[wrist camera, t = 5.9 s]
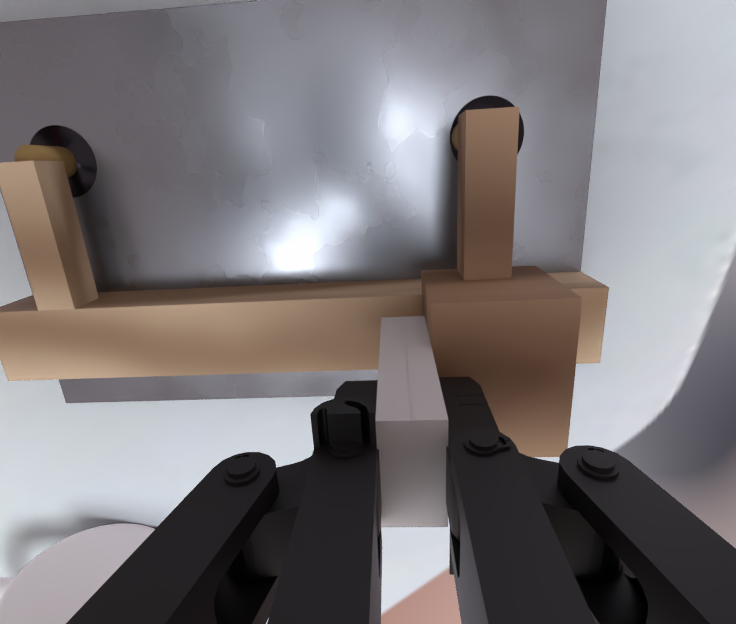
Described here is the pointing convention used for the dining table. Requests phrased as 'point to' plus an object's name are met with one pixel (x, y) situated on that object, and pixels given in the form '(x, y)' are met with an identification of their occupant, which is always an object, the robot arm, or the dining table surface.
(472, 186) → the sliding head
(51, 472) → the dining table surface
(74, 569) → the mug
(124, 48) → the bolt plate
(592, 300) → the beam
